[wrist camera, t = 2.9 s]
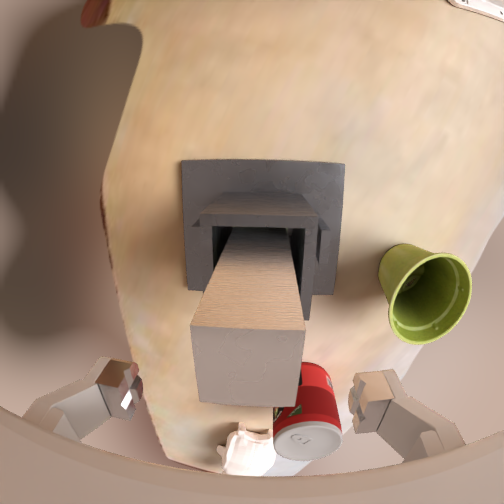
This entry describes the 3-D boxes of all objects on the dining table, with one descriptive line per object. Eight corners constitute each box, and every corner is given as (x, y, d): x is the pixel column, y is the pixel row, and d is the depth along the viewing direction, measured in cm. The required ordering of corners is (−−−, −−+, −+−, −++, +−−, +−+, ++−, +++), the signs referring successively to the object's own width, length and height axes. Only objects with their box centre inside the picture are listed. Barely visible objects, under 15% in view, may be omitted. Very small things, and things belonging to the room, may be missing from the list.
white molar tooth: (230, 410, 44) (207, 470, 44) (230, 437, 36) (204, 499, 35) (279, 421, 45) (251, 479, 44) (287, 448, 36) (254, 508, 36)
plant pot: (347, 268, 32) (370, 306, 24) (407, 211, 29) (448, 232, 21) (391, 317, 34) (417, 359, 25) (445, 266, 31) (483, 298, 23)
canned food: (289, 352, 36) (294, 419, 26) (341, 370, 37) (357, 432, 26) (263, 390, 38) (260, 453, 28) (312, 405, 39) (319, 465, 29)
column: (284, 210, 29) (310, 326, 10) (282, 257, 30) (296, 415, 11) (239, 209, 29) (185, 321, 10) (239, 255, 31) (197, 409, 12)
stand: (342, 163, 28) (391, 173, 16) (331, 290, 33) (359, 364, 21) (184, 160, 29) (128, 168, 17) (190, 286, 34) (152, 355, 21)
